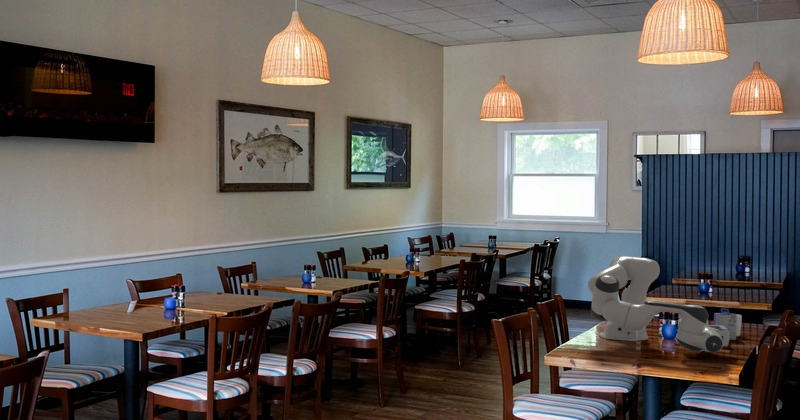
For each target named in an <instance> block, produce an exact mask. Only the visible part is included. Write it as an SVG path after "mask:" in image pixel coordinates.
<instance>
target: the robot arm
mask: <svg viewBox="0 0 800 420" xmlns="http://www.w3.org/2000/svg"><path fill="white" fill-rule="evenodd" d="M660 271H661V269H660V264H659V263H658V261H656V260H654V259H650V258H648V257H639V256H638V257H637V256H628V255H622V256H621V255H620V256H615V257H613V258H612V259H611V262H610V264H609V267H607V268H605V269H603V270H600V271H598V272H597V273H596V274H594V275H592V277H591V278H589V280H588V283H587V287H588V290H589V292H590V293H591V294H592V298H591V306H590V314H591V316H592V317H593V318H594V319H596V320H598V321H600V322H606V324H604V325H605V326H604V328H603V331H602V332H600V333H599V335H598V336H599V337H600V338H602V339H606V340H615V341H616V340H617V341H628V342H638V341H647V340H648V339H649V336H648V333H647V326H648V325H649V324H650V322H651V321H652V319H653V318H654V317H655V316H656V315H657V314H659V313H661V312H665V313H666V312H667V313H675V314H680V315H681V318H682V320H681V323H680V327H679V329H678V331H677V334H676V337H675V338H676V340H677V342H678V344H679V345H680V346H681V347H683V348H685V349H687V350H690V351H692V350H694V351H693V352H701V351H700V350H703V349H704V350H706V351H708V352H707V353H714V354H715V353H718V352H719V351H721V350H722V349H723V347H725V346H727V345H728V346H729V342H730V340H729V331H727V330H721V329H715V328H711V327H708V326H705V324H706V323H707V320H708V321H709V317H710V315H709V313H708V310H707V309H706V307H703V306H702V305H699V304H684V303H683V304H682V303H674V302H667V301H660V300H659V301H657V300H646V299H647V294H648V293H647V292H648V290H649V288H650V286H651V284H652V283H653V282H654V281H655V280H657V279H658V278H659V275H660ZM628 281H630V284H629V286H628V287H627V288H624V287H626V285H627V284H628ZM623 288H624V289H623ZM620 289H623V291H622V293H621V300H619V291H620Z"/></svg>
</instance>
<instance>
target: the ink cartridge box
mask: <svg viewBox="0 0 800 420" xmlns="http://www.w3.org/2000/svg"><path fill="white" fill-rule="evenodd" d="M737 315H738V314H737ZM737 315H736V313H731V312H730V309H729V308H722V307H721V308H720V312H713V325H719V326H725V327H726V328H727V329H728V331H729V341H731V340H733V341H736V340H737V336H736V321H737Z"/></svg>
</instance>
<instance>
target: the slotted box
mask: <svg viewBox="0 0 800 420" xmlns="http://www.w3.org/2000/svg"><path fill="white" fill-rule="evenodd" d="M708 327H711V328H715V329H721V330H727V331H728V329H727V328H726V327H725V326H719V325H714V324H708ZM728 346H729V344H728V345H727V346H724V347H726V348H727V347H728Z"/></svg>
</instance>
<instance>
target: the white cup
mask: <svg viewBox="0 0 800 420" xmlns="http://www.w3.org/2000/svg"><path fill="white" fill-rule="evenodd" d="M735 314H736V313H735ZM736 315H737V321H736V337H740V336H741V330H742V329H741V328H742V317H743V316H742V315H741V314H736Z"/></svg>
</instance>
